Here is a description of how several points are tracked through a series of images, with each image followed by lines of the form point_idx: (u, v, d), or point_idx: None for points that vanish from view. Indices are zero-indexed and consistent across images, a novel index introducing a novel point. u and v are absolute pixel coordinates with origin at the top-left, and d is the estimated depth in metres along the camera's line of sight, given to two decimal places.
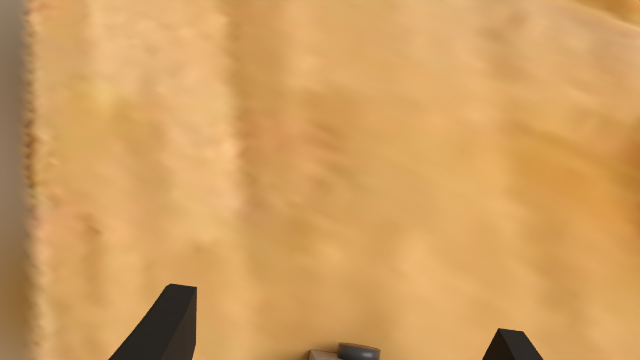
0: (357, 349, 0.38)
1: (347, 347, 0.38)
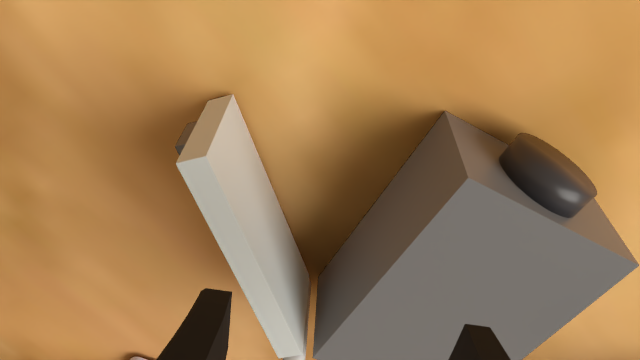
0: (562, 185, 0.16)
1: (541, 169, 0.16)
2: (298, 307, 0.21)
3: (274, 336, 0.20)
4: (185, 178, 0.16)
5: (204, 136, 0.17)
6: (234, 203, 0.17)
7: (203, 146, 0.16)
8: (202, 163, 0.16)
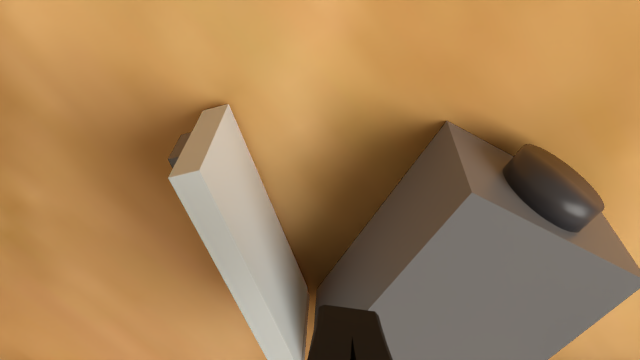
0: (568, 200, 0.16)
1: (546, 183, 0.16)
2: (296, 322, 0.21)
3: (271, 353, 0.19)
4: (178, 193, 0.15)
5: (198, 148, 0.16)
6: (229, 218, 0.16)
7: (197, 159, 0.15)
8: (195, 177, 0.15)
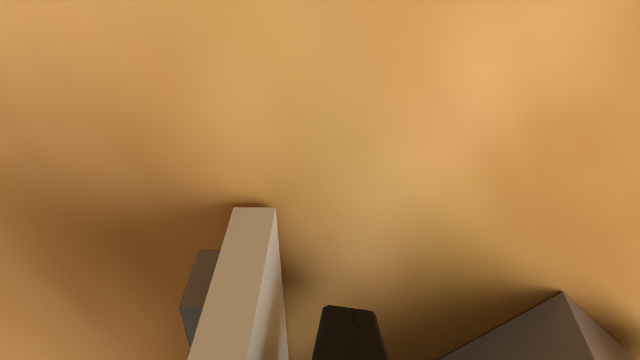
0: None
1: None
2: None
3: None
4: None
5: (236, 304, 0.10)
6: None
7: (237, 334, 0.09)
8: None
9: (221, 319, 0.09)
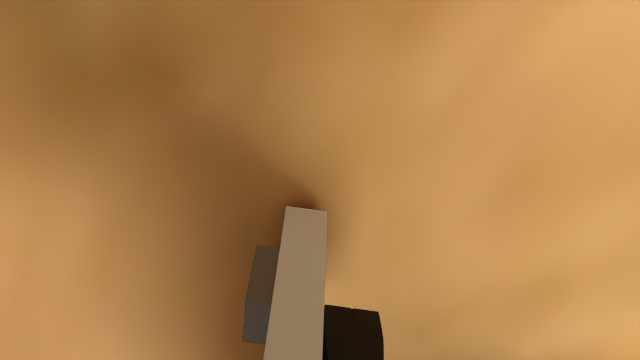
0: None
1: None
2: None
3: None
4: None
5: (303, 304, 0.10)
6: None
7: (309, 335, 0.09)
8: None
9: (291, 318, 0.10)
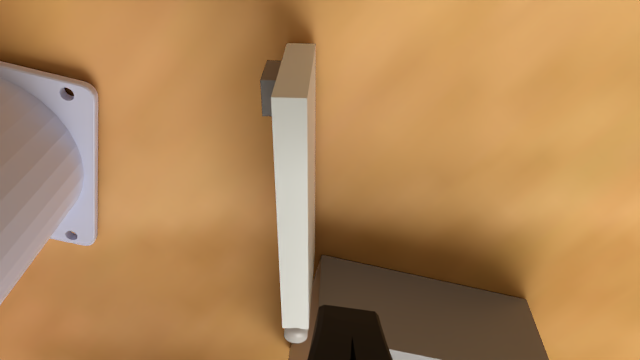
0: None
1: None
2: (311, 280, 0.20)
3: (288, 304, 0.19)
4: (273, 116, 0.15)
5: (297, 77, 0.15)
6: (308, 156, 0.16)
7: (300, 87, 0.15)
8: (299, 105, 0.14)
9: (289, 82, 0.15)
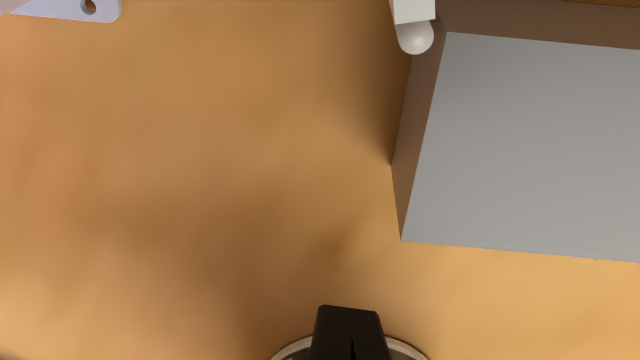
0: None
1: None
2: None
3: None
4: None
5: None
6: None
7: None
8: None
9: None
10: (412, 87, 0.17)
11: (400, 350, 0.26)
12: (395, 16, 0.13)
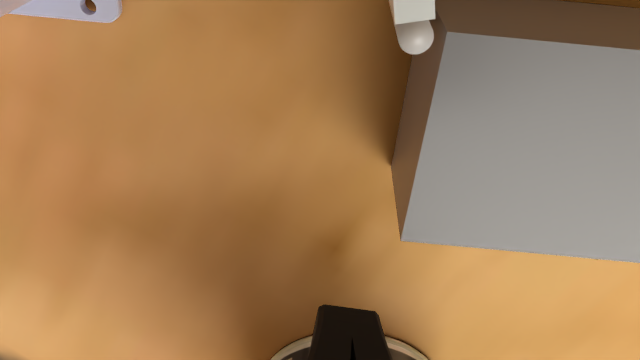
0: None
1: None
2: None
3: None
4: None
5: None
6: None
7: None
8: None
9: None
10: (412, 87, 0.17)
11: (400, 350, 0.26)
12: (395, 16, 0.13)
